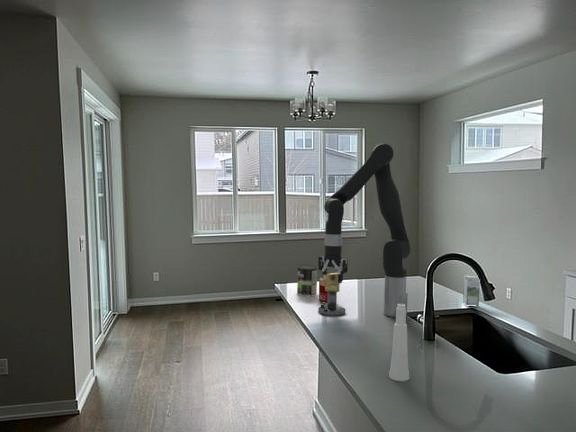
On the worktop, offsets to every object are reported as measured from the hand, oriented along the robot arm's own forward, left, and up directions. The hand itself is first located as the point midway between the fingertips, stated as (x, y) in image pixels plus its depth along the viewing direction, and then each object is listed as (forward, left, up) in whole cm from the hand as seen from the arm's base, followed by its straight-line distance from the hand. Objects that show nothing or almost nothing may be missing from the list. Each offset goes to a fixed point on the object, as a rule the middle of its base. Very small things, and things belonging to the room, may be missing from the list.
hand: (332, 281), depth 205 cm
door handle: (0, +1, -4) cm, 4 cm away
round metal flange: (0, 0, -14) cm, 14 cm away
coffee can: (+28, -21, -14) cm, 38 cm away
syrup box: (-45, -52, -14) cm, 70 cm away
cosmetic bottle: (-52, +46, -14) cm, 71 cm away
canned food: (+12, -15, -14) cm, 24 cm away
